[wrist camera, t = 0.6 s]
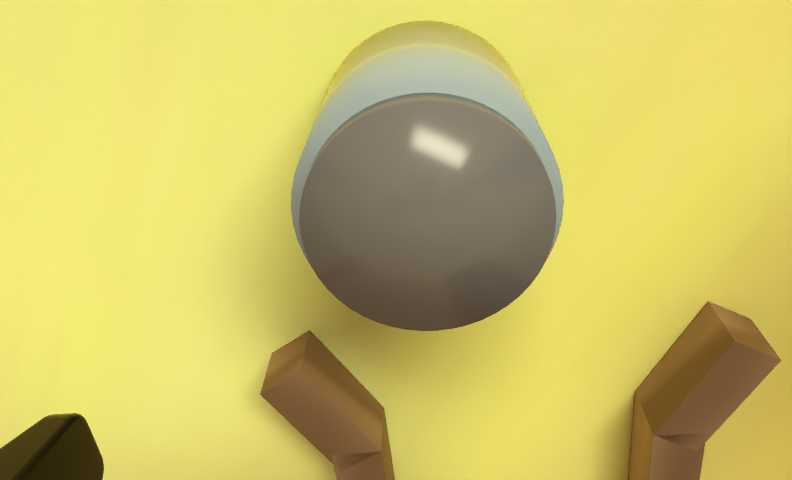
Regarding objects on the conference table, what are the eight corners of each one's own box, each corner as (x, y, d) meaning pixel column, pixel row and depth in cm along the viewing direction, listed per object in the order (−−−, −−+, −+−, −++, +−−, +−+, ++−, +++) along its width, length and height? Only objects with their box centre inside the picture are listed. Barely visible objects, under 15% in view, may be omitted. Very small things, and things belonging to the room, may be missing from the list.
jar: (523, 10, 17) (571, 74, 12) (527, 206, 20) (567, 330, 14) (307, 32, 17) (260, 104, 12) (338, 222, 20) (311, 348, 15)
